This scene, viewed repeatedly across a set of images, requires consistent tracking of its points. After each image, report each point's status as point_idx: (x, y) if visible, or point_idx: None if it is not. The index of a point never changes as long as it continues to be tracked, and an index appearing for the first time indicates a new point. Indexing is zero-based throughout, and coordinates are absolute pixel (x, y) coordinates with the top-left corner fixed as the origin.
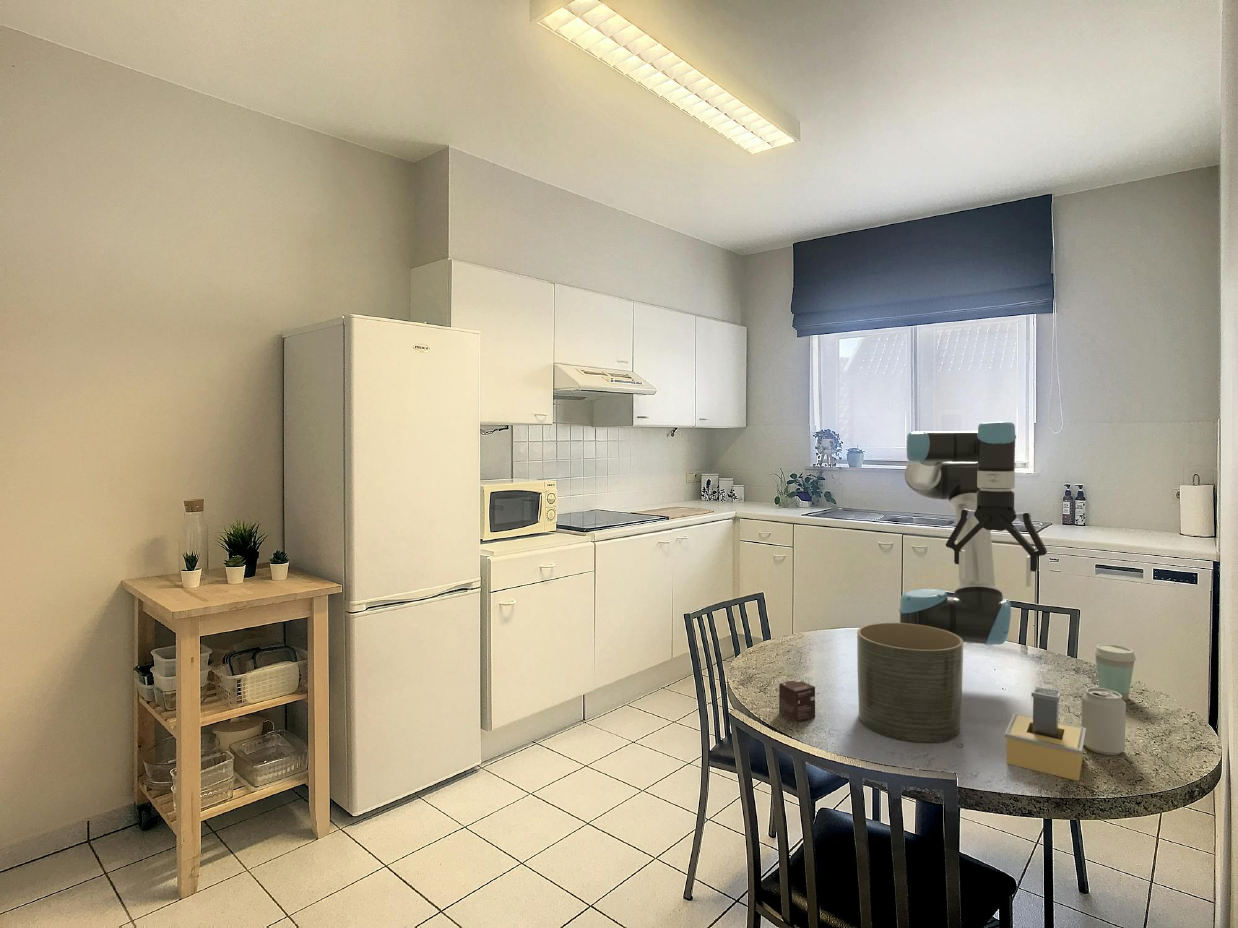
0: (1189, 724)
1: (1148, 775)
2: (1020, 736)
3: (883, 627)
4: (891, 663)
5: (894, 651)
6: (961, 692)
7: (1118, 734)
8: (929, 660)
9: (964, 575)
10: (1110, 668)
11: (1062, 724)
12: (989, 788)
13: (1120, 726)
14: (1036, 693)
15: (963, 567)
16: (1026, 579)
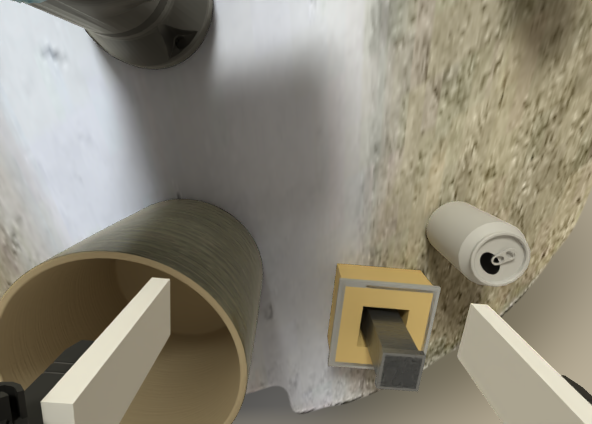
0: None
1: (489, 286)
2: (348, 364)
3: (28, 284)
4: None
5: None
6: (258, 305)
7: (483, 258)
8: None
9: (165, 291)
10: None
11: (408, 291)
12: (311, 404)
13: (493, 260)
14: (384, 388)
15: (144, 352)
16: (476, 381)
